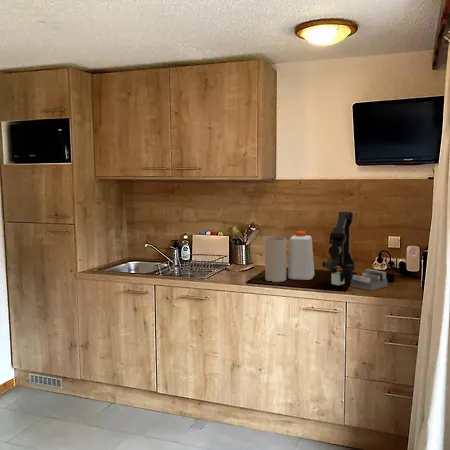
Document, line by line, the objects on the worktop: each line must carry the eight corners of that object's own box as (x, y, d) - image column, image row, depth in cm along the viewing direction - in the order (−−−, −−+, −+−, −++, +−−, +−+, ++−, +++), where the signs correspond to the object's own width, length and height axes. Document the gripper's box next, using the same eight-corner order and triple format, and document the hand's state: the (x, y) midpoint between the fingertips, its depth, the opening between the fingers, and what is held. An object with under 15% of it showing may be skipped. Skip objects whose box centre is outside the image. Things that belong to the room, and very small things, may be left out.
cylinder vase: (275, 276, 308) (274, 236, 305) (290, 279, 299) (290, 238, 296) (261, 280, 300) (260, 238, 297) (276, 283, 291) (275, 240, 288)
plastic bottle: (286, 279, 300) (286, 233, 296) (290, 274, 314) (290, 229, 311) (312, 280, 295) (311, 233, 292) (315, 275, 310) (315, 230, 306)
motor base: (350, 286, 280) (350, 272, 279) (366, 282, 288) (366, 268, 287) (371, 290, 269) (371, 276, 268) (387, 286, 277) (387, 272, 276)
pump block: (331, 283, 279) (331, 273, 278) (337, 282, 282) (337, 271, 281) (338, 285, 275) (338, 274, 274) (344, 283, 278) (344, 273, 277)
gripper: (315, 253, 279) (315, 280, 281) (341, 257, 264) (341, 286, 266) (329, 250, 286) (329, 277, 287) (355, 254, 270) (354, 283, 272)
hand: (337, 281), depth 278 cm, fingers closed on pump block, 5 cm apart
